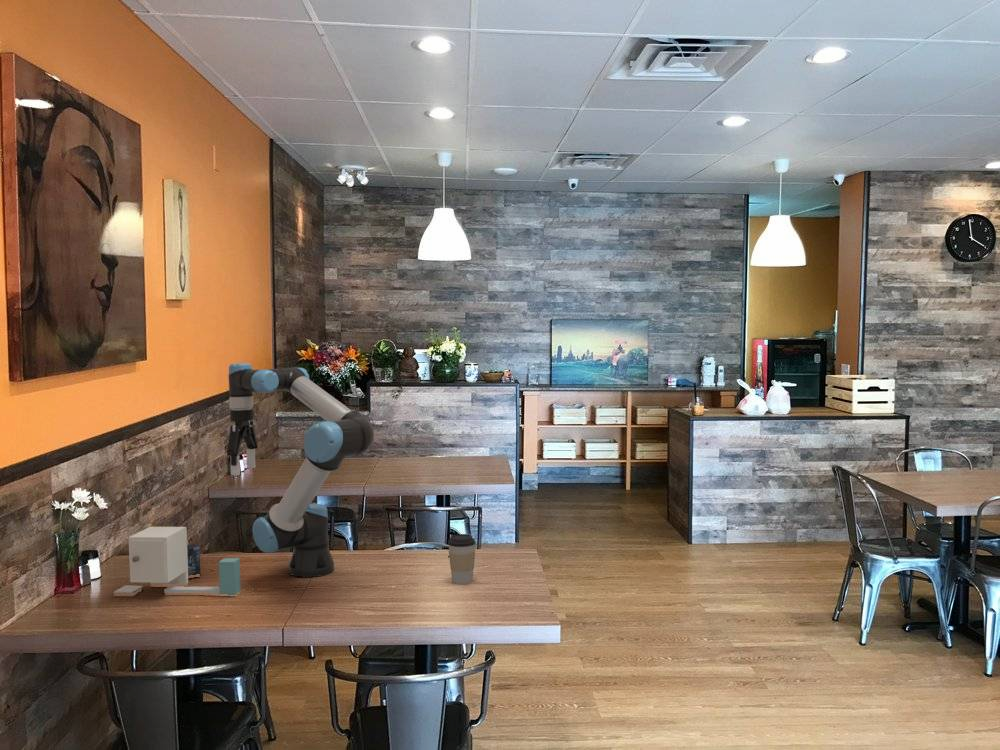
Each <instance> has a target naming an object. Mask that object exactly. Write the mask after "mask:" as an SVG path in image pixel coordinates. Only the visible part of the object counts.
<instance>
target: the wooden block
mask: <svg viewBox="0 0 1000 750" xmlns="http://www.w3.org/2000/svg"><path fill="white" fill-rule="evenodd" d="M142 587H143V588H144V585H123V586H122V587H119V588H118V589H116V590H114V591H113V594H114V593H130V594H132V593H134V592H136V591H137V590H139V589H141V588H142Z"/></svg>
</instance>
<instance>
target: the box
mask: <svg viewBox="0 0 1000 750" xmlns="http://www.w3.org/2000/svg"><path fill="white" fill-rule="evenodd" d="M200 551H201V548H200V546H199V545H197V544H194V543H190V544H187V554H188V576H190V575H196V574H200V575H201V552H200Z"/></svg>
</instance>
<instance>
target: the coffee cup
mask: <svg viewBox="0 0 1000 750" xmlns="http://www.w3.org/2000/svg"><path fill="white" fill-rule="evenodd" d="M476 543H477V542H476V539H475V538H473V536H472V535H470V534H467V533H466V534H465V533H458V534H452V535H451V537H450V538H449V539H448V542H447V545H448V556H449V566H450V574H451V582H452V583H453V584H455V585H469V584H471V583H473V580H474V569H475V561H476V560H475V559H476Z"/></svg>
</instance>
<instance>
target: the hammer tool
mask: <svg viewBox="0 0 1000 750" xmlns="http://www.w3.org/2000/svg"><path fill="white" fill-rule="evenodd" d="M240 563H241V559H240V558H239V557H237V558H235V557H231V558H229V557H225V558H222V559H221V560H220V561H218V574H219V575H218V580H219V581H218V583H219V586H189V587H184V586H169V587H167V588H163V591H164V593H210V594H227V595H236V594H237V593H238V592H240V591H241V589H242V588H241V584H242V583H241V564H240ZM241 592H242V591H241Z"/></svg>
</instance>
